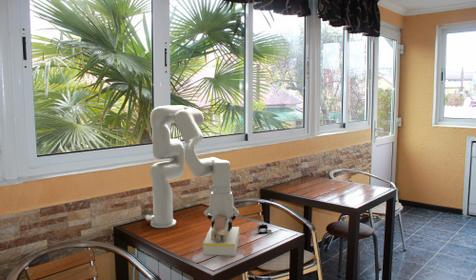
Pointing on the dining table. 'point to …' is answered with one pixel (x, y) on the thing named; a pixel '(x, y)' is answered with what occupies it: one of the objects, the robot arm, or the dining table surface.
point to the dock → (221, 243)
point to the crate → (219, 222)
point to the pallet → (220, 232)
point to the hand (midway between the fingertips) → (221, 229)
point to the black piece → (265, 231)
